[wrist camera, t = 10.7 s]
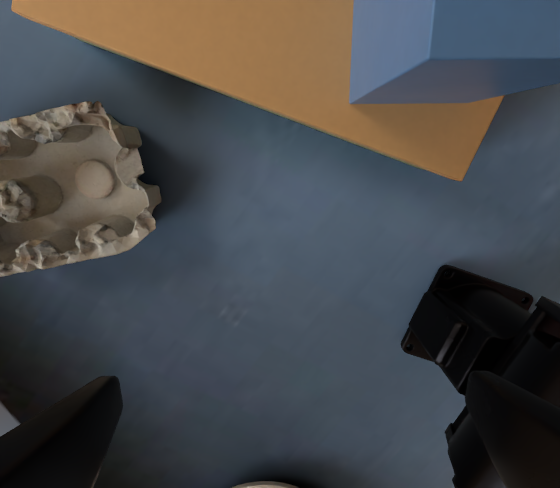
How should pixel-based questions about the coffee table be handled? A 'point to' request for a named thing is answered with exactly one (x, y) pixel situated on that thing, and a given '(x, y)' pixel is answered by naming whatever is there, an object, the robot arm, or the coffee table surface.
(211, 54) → the board
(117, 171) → the egg carton
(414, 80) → the carton
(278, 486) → the flower in vase
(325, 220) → the coffee table surface
